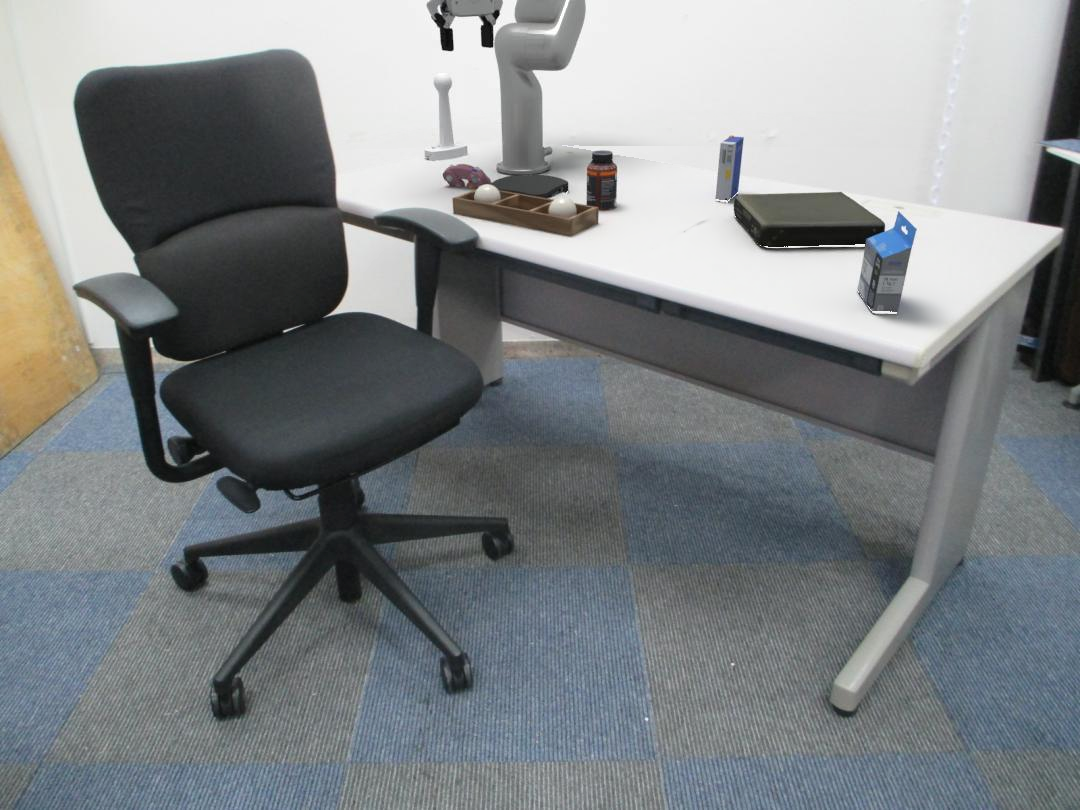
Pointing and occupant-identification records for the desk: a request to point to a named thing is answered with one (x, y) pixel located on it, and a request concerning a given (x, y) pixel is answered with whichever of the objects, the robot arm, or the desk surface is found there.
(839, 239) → the network switch
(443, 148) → the joystick
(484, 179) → the video game controller
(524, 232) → the desk surface
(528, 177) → the media streaming box
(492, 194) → the egg
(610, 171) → the supplement bottle
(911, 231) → the grey and blue box
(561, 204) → the egg
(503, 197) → the holder
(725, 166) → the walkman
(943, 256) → the desk surface
